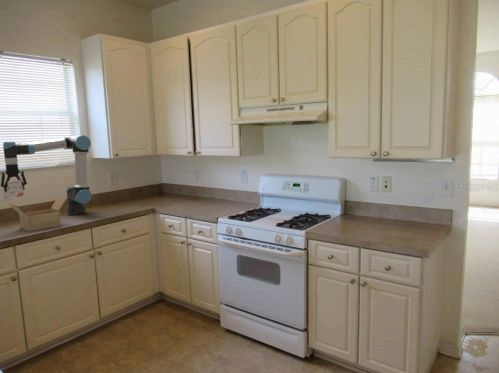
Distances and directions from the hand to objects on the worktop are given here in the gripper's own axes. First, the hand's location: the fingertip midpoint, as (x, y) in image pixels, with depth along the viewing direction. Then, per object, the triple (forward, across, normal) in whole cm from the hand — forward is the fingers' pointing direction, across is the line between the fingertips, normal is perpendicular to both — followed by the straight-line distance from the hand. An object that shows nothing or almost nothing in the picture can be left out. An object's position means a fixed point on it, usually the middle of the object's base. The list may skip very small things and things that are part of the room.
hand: (15, 195), depth 272 cm
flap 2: (+12, -20, +14) cm, 27 cm away
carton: (+23, -10, +14) cm, 29 cm away
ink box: (+1, 0, 0) cm, 1 cm away
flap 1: (+12, 0, +14) cm, 19 cm away
